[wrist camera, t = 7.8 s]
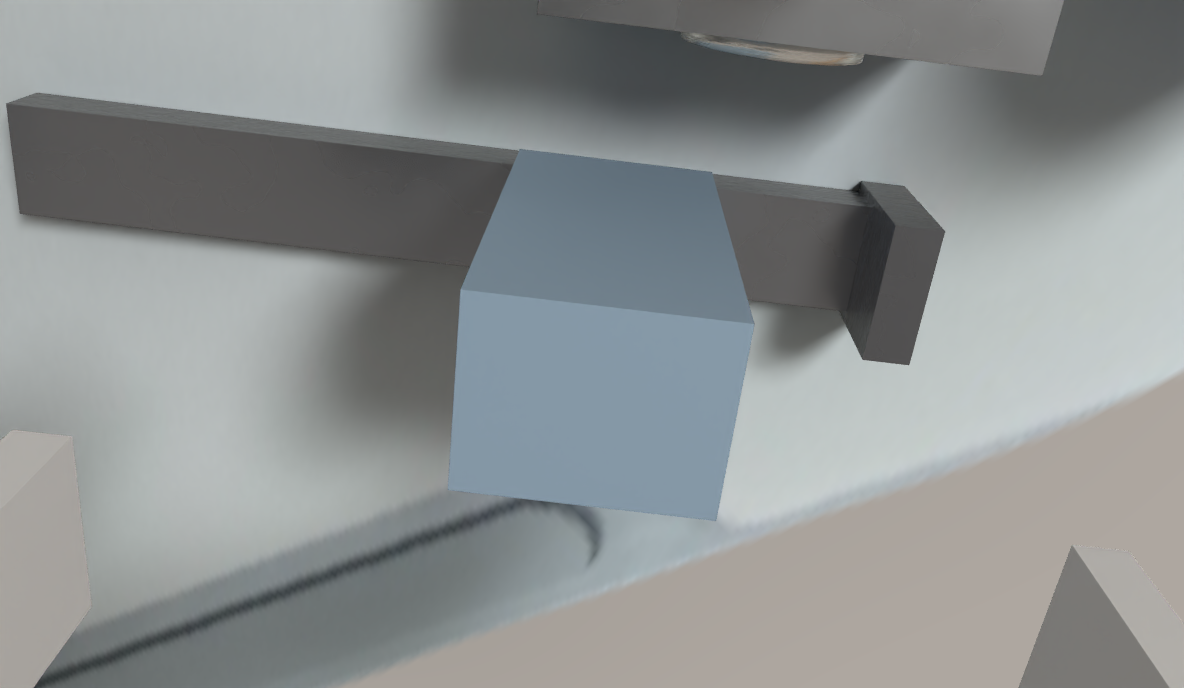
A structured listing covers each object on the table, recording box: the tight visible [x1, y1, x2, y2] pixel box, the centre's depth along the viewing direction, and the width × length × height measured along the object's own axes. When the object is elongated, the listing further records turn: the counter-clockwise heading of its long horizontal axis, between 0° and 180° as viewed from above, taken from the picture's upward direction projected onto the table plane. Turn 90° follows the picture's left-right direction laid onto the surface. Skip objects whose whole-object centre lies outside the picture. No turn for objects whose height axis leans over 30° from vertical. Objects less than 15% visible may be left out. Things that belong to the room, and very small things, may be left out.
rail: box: [6, 93, 945, 365], centre depth 27 cm, size 24×4×4 cm, turn 84°
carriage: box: [448, 149, 754, 521], centre depth 23 cm, size 5×4×10 cm
